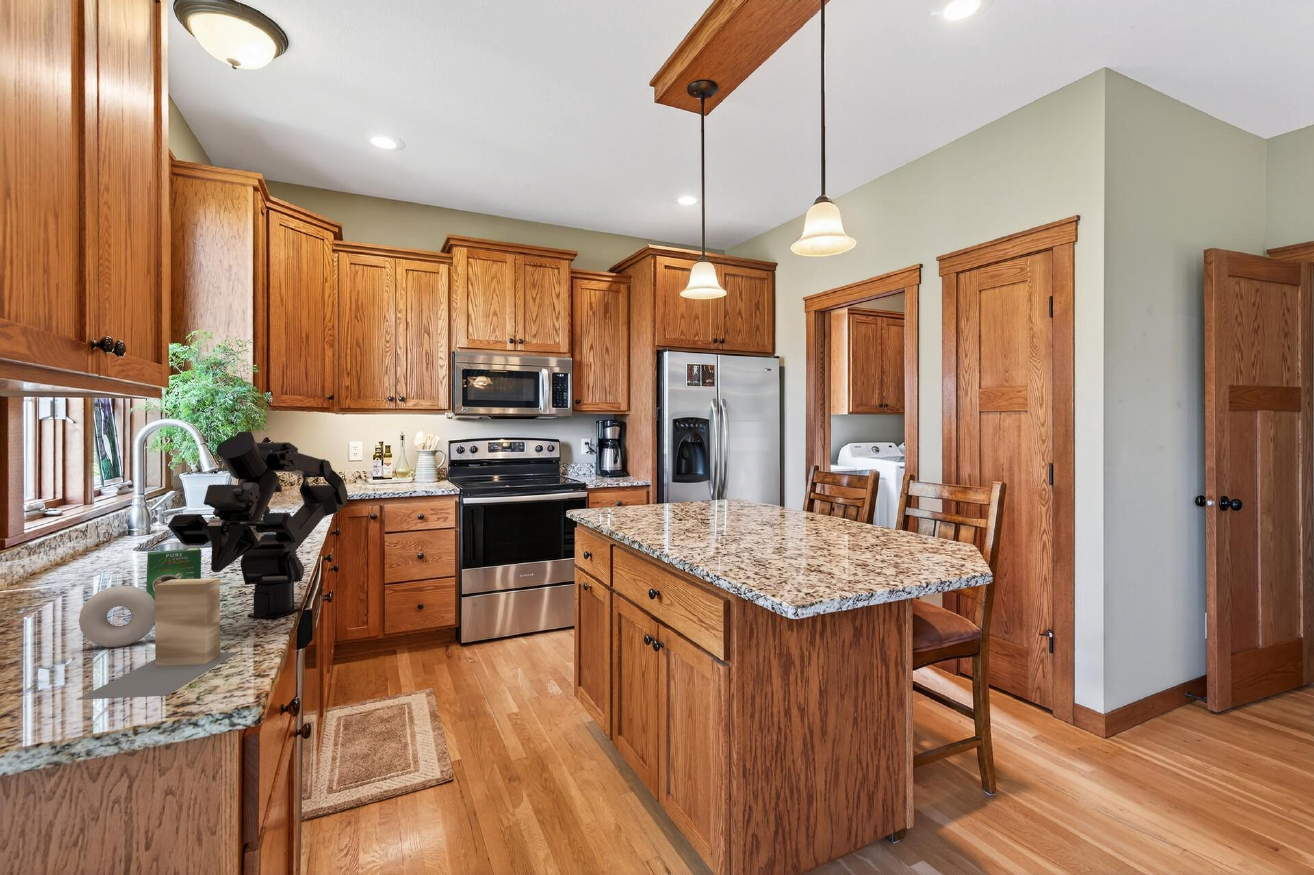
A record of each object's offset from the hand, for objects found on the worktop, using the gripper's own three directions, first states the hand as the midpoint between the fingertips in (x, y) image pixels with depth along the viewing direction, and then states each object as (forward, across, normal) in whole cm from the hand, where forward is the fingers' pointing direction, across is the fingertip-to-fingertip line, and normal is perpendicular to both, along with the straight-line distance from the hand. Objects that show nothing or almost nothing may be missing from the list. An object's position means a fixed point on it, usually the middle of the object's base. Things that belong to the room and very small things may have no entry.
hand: (214, 571), depth 99 cm
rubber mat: (+17, 0, +1) cm, 17 cm away
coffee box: (-3, -17, +21) cm, 27 cm away
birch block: (+13, 0, +4) cm, 14 cm away
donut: (+8, -16, +10) cm, 20 cm away
